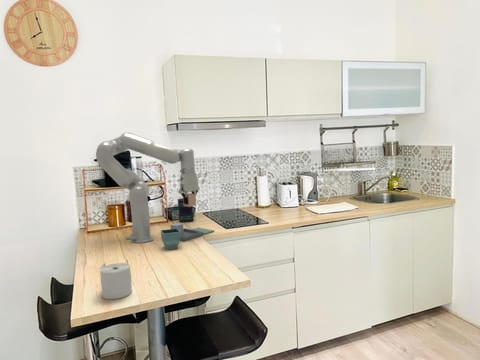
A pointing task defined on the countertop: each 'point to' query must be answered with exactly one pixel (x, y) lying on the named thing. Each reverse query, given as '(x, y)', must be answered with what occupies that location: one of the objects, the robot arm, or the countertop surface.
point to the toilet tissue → (116, 280)
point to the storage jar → (185, 212)
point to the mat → (203, 230)
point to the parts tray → (190, 234)
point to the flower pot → (170, 238)
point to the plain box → (179, 227)
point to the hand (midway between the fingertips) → (189, 202)
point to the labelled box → (191, 200)
